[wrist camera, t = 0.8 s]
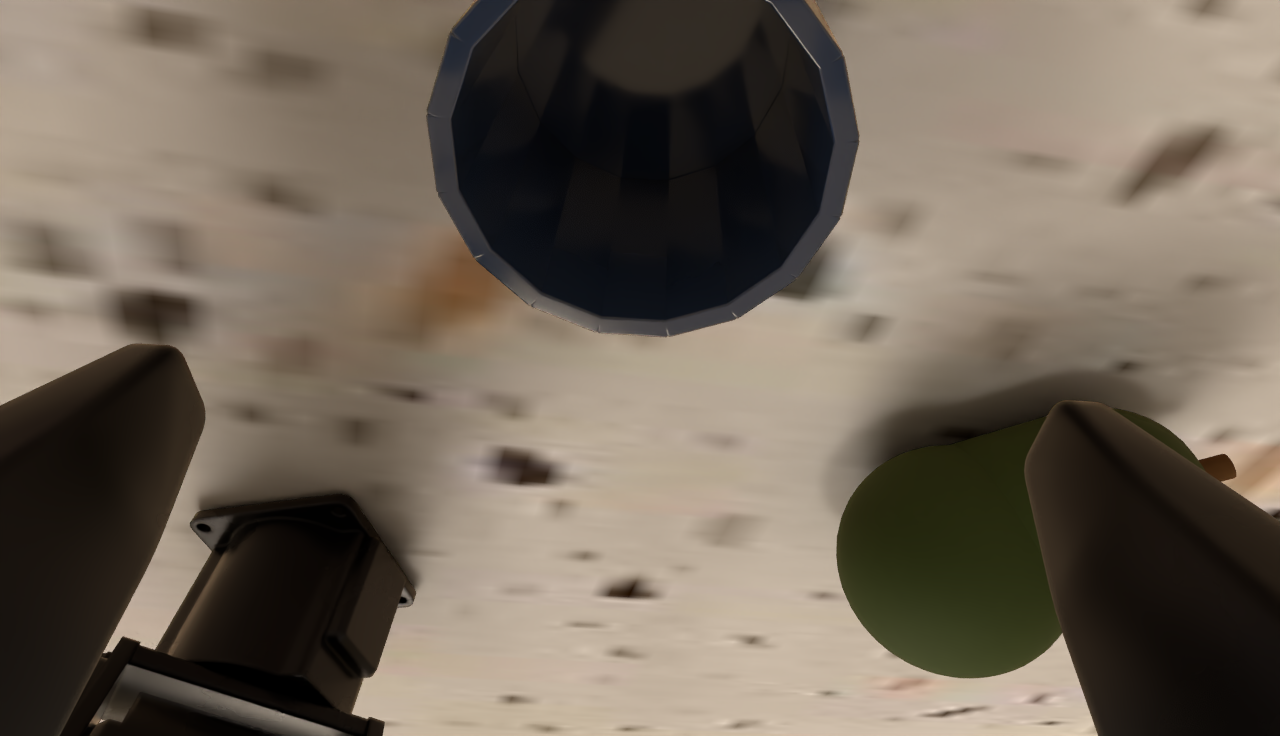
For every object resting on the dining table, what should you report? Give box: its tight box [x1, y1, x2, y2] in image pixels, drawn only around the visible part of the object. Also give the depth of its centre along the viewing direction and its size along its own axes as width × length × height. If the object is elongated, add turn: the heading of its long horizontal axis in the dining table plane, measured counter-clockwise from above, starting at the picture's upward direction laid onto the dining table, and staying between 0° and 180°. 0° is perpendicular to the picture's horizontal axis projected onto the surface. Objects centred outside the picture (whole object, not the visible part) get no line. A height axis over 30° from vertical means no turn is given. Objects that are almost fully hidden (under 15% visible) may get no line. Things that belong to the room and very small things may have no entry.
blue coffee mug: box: [426, 0, 859, 337], centre depth 14 cm, size 10×7×6 cm
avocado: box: [836, 408, 1236, 678], centre depth 22 cm, size 11×7×7 cm, turn 117°
